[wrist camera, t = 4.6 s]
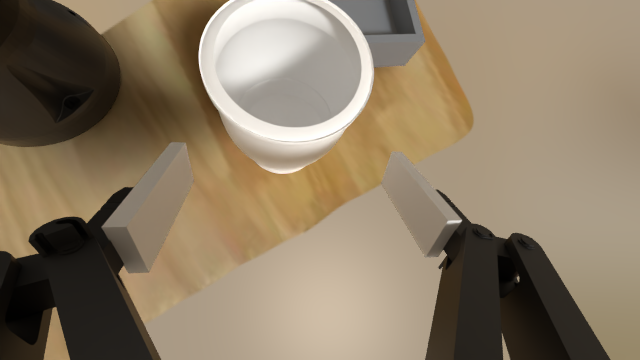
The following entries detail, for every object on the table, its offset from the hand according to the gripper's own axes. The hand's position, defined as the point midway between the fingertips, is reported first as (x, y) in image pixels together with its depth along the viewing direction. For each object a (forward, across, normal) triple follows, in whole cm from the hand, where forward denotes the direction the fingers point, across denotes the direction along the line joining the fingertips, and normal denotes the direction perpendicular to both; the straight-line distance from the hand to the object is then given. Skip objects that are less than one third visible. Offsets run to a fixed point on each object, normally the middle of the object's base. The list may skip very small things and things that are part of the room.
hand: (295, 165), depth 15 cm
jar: (+13, 0, -5) cm, 14 cm away
